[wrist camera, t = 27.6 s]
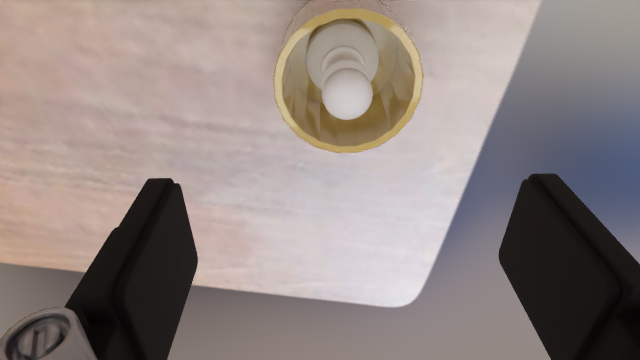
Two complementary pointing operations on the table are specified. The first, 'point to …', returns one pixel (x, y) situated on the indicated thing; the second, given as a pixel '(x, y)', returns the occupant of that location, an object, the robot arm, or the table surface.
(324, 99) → the chess pawn
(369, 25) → the yellow cup
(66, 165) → the table surface
